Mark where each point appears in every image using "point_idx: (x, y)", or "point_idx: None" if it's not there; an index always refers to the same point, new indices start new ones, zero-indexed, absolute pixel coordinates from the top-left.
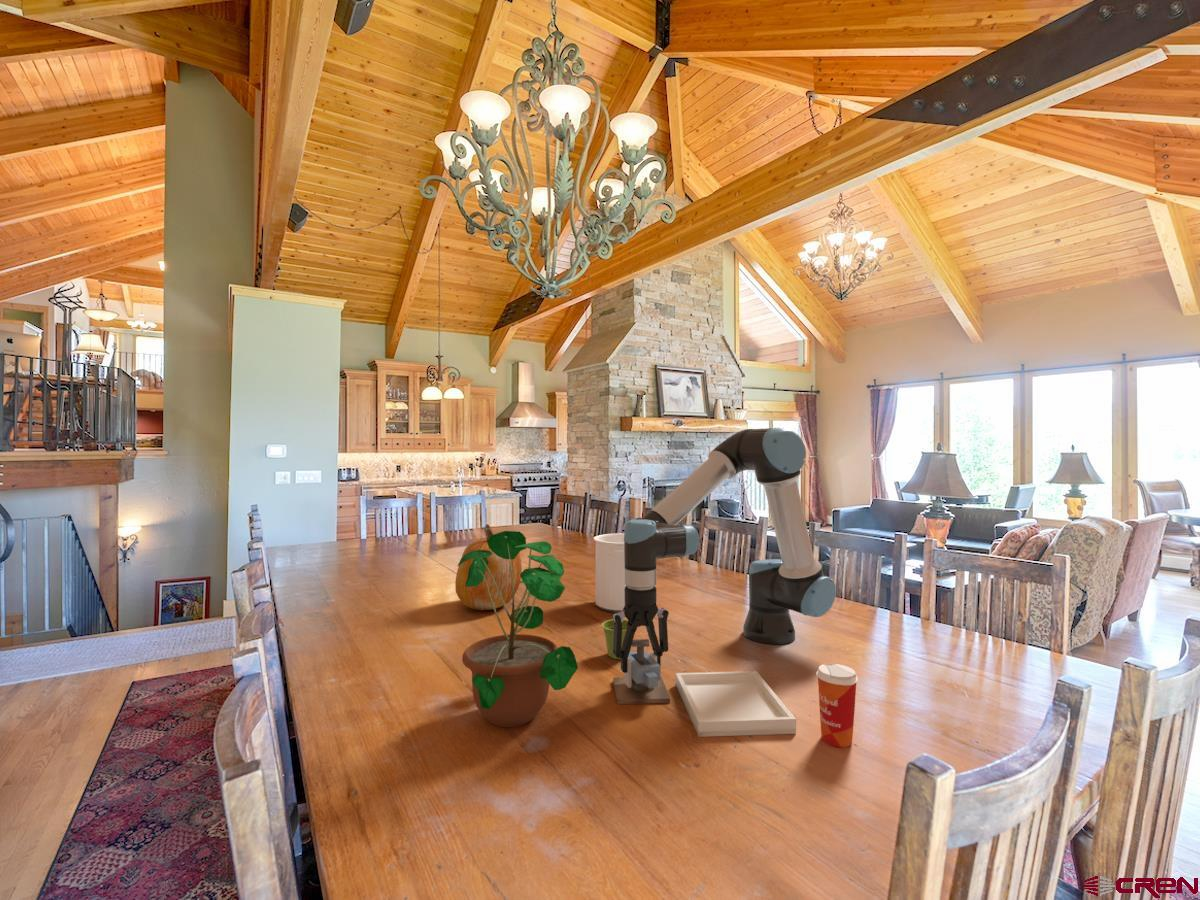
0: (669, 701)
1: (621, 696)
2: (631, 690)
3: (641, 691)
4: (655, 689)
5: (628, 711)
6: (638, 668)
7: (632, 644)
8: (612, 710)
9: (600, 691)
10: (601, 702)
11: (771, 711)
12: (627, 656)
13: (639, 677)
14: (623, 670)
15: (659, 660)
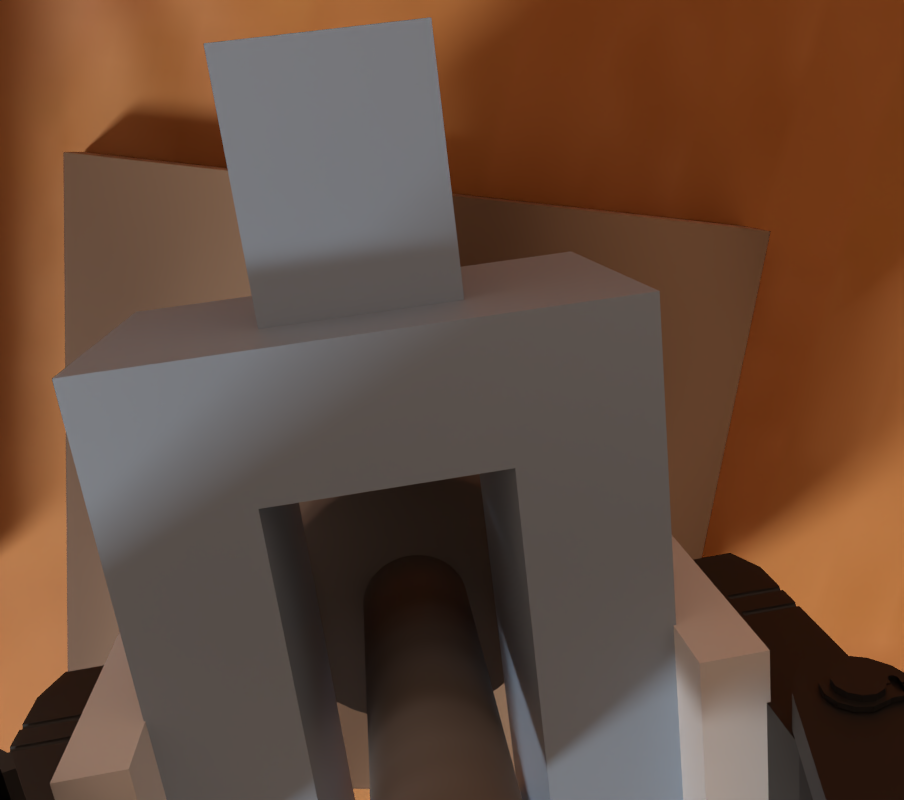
0: (85, 153)
1: (695, 315)
2: None
3: None
4: None
5: (669, 15)
6: (615, 308)
7: None
8: (842, 81)
9: (827, 562)
10: (897, 305)
11: None
12: (823, 705)
13: (547, 272)
14: (747, 571)
15: (24, 765)
